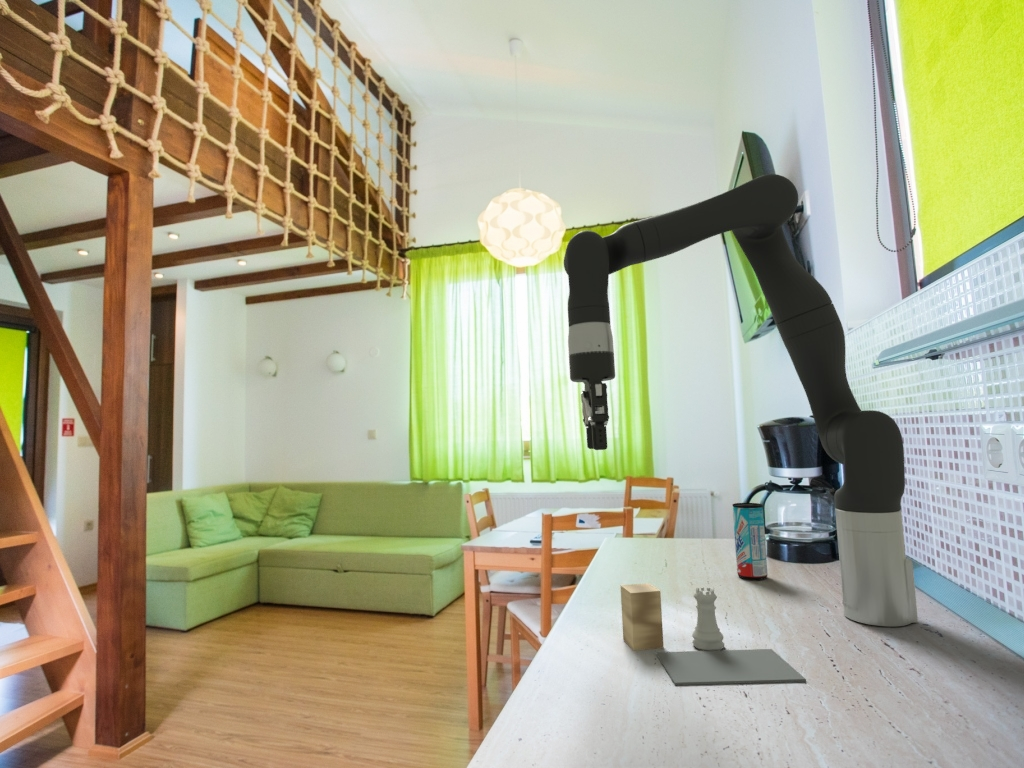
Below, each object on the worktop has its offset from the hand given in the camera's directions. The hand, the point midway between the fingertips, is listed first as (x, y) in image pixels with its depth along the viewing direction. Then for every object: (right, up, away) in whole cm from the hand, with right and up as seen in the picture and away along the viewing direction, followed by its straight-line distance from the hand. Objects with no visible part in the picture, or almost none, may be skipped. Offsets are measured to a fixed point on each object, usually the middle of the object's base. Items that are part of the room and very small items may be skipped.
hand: (597, 449), depth 96 cm
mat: (+14, -26, -20) cm, 36 cm away
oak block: (+5, -28, -10) cm, 30 cm away
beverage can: (+36, -30, +25) cm, 53 cm away
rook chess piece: (+14, -27, -13) cm, 33 cm away
